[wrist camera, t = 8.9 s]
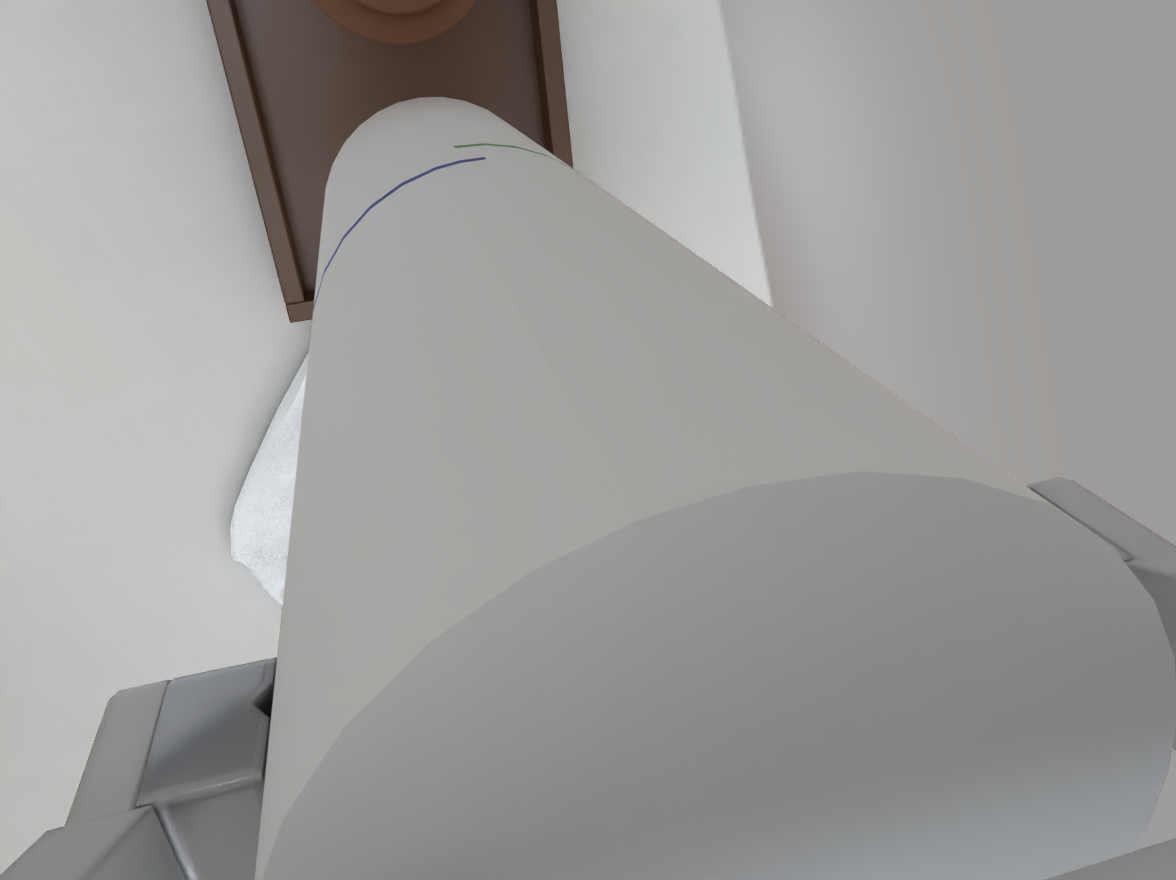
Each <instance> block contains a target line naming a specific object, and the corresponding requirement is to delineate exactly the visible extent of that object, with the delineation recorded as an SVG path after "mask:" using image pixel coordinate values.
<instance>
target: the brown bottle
mask: <svg viewBox="0 0 1176 880" xmlns="http://www.w3.org/2000/svg"><path fill="white" fill-rule="evenodd" d="M314 1H315V2H316V3H317V4H318V6H319V7H320V8H321V9H322V10H323V11H324V12H325V13H326V14H327V15H328V16H329V17H330V18H332V19H333V20H334V21H335V22H337V23H338V24H339V25H341V26H342V27H344V28H345V29H347V30H349V31H350V32H352V33H354V34H356V35H358V36H360V37H363V38H366V39H368V40H371V41H375V42H379V43H383V44H393V45H405V44H414V43H419V42H423V41H426V40H429V39H432V38H434V37H436V36H438V35H440V34H442V33H444V32H446V31H447V30H449V29H450V28H451V27H453V26H454V25H455V24H456V23H457V22H459V21H460V20H461V19H462V18H463V17H464V16H465V14H466V13H467V12H468V11H469V9H470V8H471V7H472V5H473V4H474V2H475V0H314Z"/></svg>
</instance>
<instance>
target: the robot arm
mask: <svg viewBox="0 0 1176 880" xmlns="http://www.w3.org/2000/svg"><path fill="white" fill-rule="evenodd" d="M1027 487H1028V488H1029V489H1031V490H1032V491H1034V492H1035V493H1036V494H1038V495H1039V496H1041V497H1042V498H1044V499H1045V500H1046V501H1048V502H1049V503H1051V504H1052V505H1054V506H1055V507H1056V508H1058V509H1059V510H1061V511H1062V512H1064V513H1065V514H1066V515H1068V516H1069V517H1071V518H1072V519H1074V520H1075V521H1076V522H1078V523H1079V524H1081V525H1082V526H1083V527H1085V528H1086V529H1088V530H1089V531H1091V532H1092V533H1093V534H1095V535H1096V536H1098V537H1099V538H1101V539H1102V540H1103V541H1105V542H1106V543H1108V544H1109V545H1111V546H1112V547H1113V548H1114V549H1115V550H1116V551H1117V553H1118V554H1119V555H1120V557H1121V558H1122V559H1123V561H1124V562H1125V563H1126V564H1127V566H1128V567H1129V568H1130V570H1131V571H1132V572H1133V573H1134V575H1135V576H1136V577H1137V579H1138V580H1139V581H1140V583H1141V584H1142V585H1143V586H1144V588H1145V589H1146V590H1147V592H1148V593H1149V594H1150V595H1151V597H1152V598H1153V599H1154V601H1155V604H1156V607H1157V609H1158V612H1159V615H1160V618H1161V621H1162V624H1163V626H1164V629H1165V632H1166V635H1167V638H1168V641H1169V643H1170V646H1171V649H1172V652H1173V655H1174V658H1175V675H1176V546H1175V545H1173V544H1172V543H1170V542H1169V541H1167V540H1166V539H1164V538H1162V537H1161V536H1159V535H1158V534H1156V533H1155V532H1153V531H1151V530H1150V529H1148V528H1147V527H1145V526H1144V525H1142V524H1141V523H1139V522H1137V521H1136V520H1134V519H1132V518H1131V517H1130V516H1128V515H1126V514H1125V513H1123V512H1122V511H1120V510H1118V509H1117V508H1115V507H1114V506H1112V505H1111V504H1109V503H1108V502H1106V501H1105V500H1103V499H1101V498H1100V497H1098V496H1097V495H1095V494H1093V493H1092V492H1090V491H1089V490H1087V489H1086V488H1084V487H1082V486H1081V485H1079V484H1078V483H1076V482H1075V481H1073V480H1069V479H1064V478H1059V477H1057V478H1053V479H1049V480H1045V481H1042V482H1038V483H1034V484H1030V485H1027ZM276 664H277V657H275V658H270V659H265V660H261V661H256V662H251V663H246V664H241V665H236V666H231V667H227V668H222V669H217V670H212V671H207V672H202V673H197V674H193V675H188V676H183V677H178V678H174V679H173V680H165V681H160V682H156V683H151V684H147V685H142V686H138V687H133V688H129V689H124V690H120V691H118V692H117V693H116V694H115V695H114V696H112V697H111V698H110V700H109V701H108V703H107V706H106V709H105V711H104V714H103V717H102V720H101V723H100V726H99V729H98V732H97V735H96V737H95V740H94V743H93V746H92V749H91V752H90V755H89V758H88V760H87V763H86V766H85V769H84V772H83V775H82V778H81V781H80V784H79V786H78V789H77V792H76V795H75V798H74V801H73V804H72V807H71V809H70V812H69V815H68V818H67V821H66V824H65V826H64V827H60V828H57V829H53V830H49V831H46V832H45V833H44V834H43V835H42V836H41V837H40V838H39V839H38V840H37V841H36V842H35V843H34V844H33V845H32V846H31V847H29V848H28V849H27V850H26V851H25V852H24V853H23V854H22V855H21V856H20V857H19V858H18V859H17V860H16V861H15V862H14V863H13V864H12V865H11V866H10V867H9V868H7V869H6V870H5V871H4V872H3V873H2V874H1V875H0V880H255V871H256V861H257V851H258V841H259V831H260V822H261V812H262V802H263V792H264V782H265V773H266V763H267V753H268V743H269V733H270V723H271V714H272V704H273V694H274V684H275V674H276ZM1172 748H1173V749H1175V750H1176V729H1175V735H1174V740H1173V746H1172ZM1045 880H1176V838H1175V839H1172V840H1169V841H1165V842H1162V843H1159V844H1156V845H1153V846H1150V847H1147V848H1143V849H1140V850H1137V851H1134V852H1131V853H1127V854H1124V855H1121V856H1118V857H1115V858H1112V859H1108V860H1105V861H1102V862H1099V863H1096V864H1093V865H1089V866H1086V867H1083V868H1080V869H1077V870H1074V871H1071V872H1067V873H1064V874H1061V875H1058V876H1055V877H1052V878H1048V879H1045Z"/></svg>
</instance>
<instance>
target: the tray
mask: <svg viewBox="0 0 1176 880" xmlns="http://www.w3.org/2000/svg"><path fill="white" fill-rule="evenodd" d="M206 1H207V5H208V9H209V13H210V17H211V21H212V24H213V28H214V32H215V36H216V40H217V44H218V47H219V51H220V55H221V59H222V63H223V67H224V71H225V74H226V78H227V82H228V86H229V90H230V94H231V97H232V101H233V105H234V109H235V113H236V117H237V120H238V124H239V128H240V132H241V136H242V140H243V143H244V147H245V151H246V155H247V159H248V163H249V167H250V170H251V174H252V178H253V182H254V186H255V190H256V193H257V197H258V201H259V205H260V209H261V213H262V216H263V220H264V224H265V228H266V232H267V236H268V240H269V243H270V247H271V251H272V255H273V259H274V263H275V266H276V270H277V274H278V278H279V282H280V286H281V289H282V293H283V297H284V301H285V303H286V309H287V313H288V316H289V320H290V322H291V323H292V322H298V321H304V320H311V319H312V317H313V307H314V297H315V287H316V277H317V267H318V257H319V247H320V237H321V227H322V218H323V209H324V200H325V190H326V185H327V182H328V178H329V175H330V171H331V168H332V164H333V163H334V161H335V159H336V157H337V155H338V153H339V152H340V150H341V148H342V146H343V144H344V143H345V142H346V140H347V139H348V138H349V137H350V136H351V135H352V134H353V132H354V131H355V130H356V129H357V128H358V127H359V126H360V125H361V124H362V123H363V122H365V121H366V120H368V119H369V118H370V117H372V116H373V115H374V114H376V113H377V112H378V111H381V110H383V109H385V108H387V107H389V106H391V105H394V104H396V103H398V102H402V101H406V100H411V99H415V98H419V97H446V98H452V99H458V100H463V101H467V102H470V103H472V104H474V105H477V106H479V107H482V108H484V109H487V110H489V111H490V112H492V113H493V114H495V115H496V116H498V117H499V118H501V119H502V120H504V121H505V122H506V123H508V124H509V125H511V126H512V127H514V128H515V129H517V130H518V131H520V132H521V133H522V134H524V135H525V136H527V137H528V138H530V139H531V140H533V141H534V142H535V143H537V144H538V145H540V146H541V147H543V148H544V149H546V150H547V151H549V152H550V153H551V154H553V155H554V156H556V157H557V158H559V159H560V160H562V161H563V162H564V163H566V164H567V165H569V166H570V167H572V168H573V163H572V153H571V143H570V133H569V123H568V113H567V103H566V93H565V83H564V73H563V63H562V53H561V43H560V33H559V23H558V13H557V3H556V0H475V2H474V4H473V5H472V7H471V8H470V9H469V11H468V12H467V13H466V14H465V16H464V17H463V18H462V19H461V20H460V21H459V22H457V23H456V24H455V25H454V26H453V27H451V28H450V29H449V30H447V31H446V32H444V33H442V34H440V35H438V36H436V37H434V38H432V39H429V40H426V41H423V42H419V43H414V44H405V45H393V44H383V43H379V42H375V41H371V40H368V39H366V38H363V37H360V36H358V35H356V34H354V33H352V32H350V31H349V30H347V29H345V28H344V27H342V26H341V25H339V24H338V23H337V22H335V21H334V20H333V19H332V18H330V17H329V16H328V15H327V14H326V13H325V12H324V11H323V10H322V9H321V8H320V7H319V6H318V4H317V3H316V2H315V1H314V0H206Z"/></svg>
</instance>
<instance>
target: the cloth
mask: <svg viewBox="0 0 1176 880" xmlns="http://www.w3.org/2000/svg"><path fill="white" fill-rule="evenodd" d="M308 355H309V352H308V354H307V356H306V358H305V360H304V362H303V363H302V365H301V367H300V369H299V371H298V372H297V374H296V376H295V378H294V380H293V382H292V383H291V385H290V387H289V389H288V391H287V393H286V394H285V396H284V398H283V400H282V402H281V404H280V405H279V407H278V409H277V411H276V413H275V416H274V418H273V420H272V422H271V424H270V426H269V429H268V431H267V433H266V435H265V437H264V439H263V442H262V444H261V446H260V448H259V450H258V452H257V455H256V457H255V459H254V461H253V463H252V465H251V468H250V470H249V472H248V475H247V477H246V480H245V482H244V485H243V487H242V490H241V492H240V495H239V497H238V500H237V502H236V505H235V508H234V512H233V516H232V520H231V525H230V539H231V558H232V559H234V560H235V561H237V562H239V563H241V564H243V565H244V566H246V567H248V568H249V569H250V570H251V571H252V573H253V574H254V575H255V577H256V578H257V579H258V580H259V582H260V583H261V584H262V585H263V587H264V588H265V589H266V591H267V592H268V593H269V594H270V595H271V596H272V597H273V598H274V599H275V600H276V601H277V602H278V603H280V604H281V605H282V606H283V596H284V586H285V576H286V566H287V556H288V547H289V537H290V527H291V517H292V507H293V497H294V488H295V478H296V468H297V459H298V449H299V440H300V430H301V421H302V411H303V402H304V392H305V383H306V373H307V364H308Z"/></svg>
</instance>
